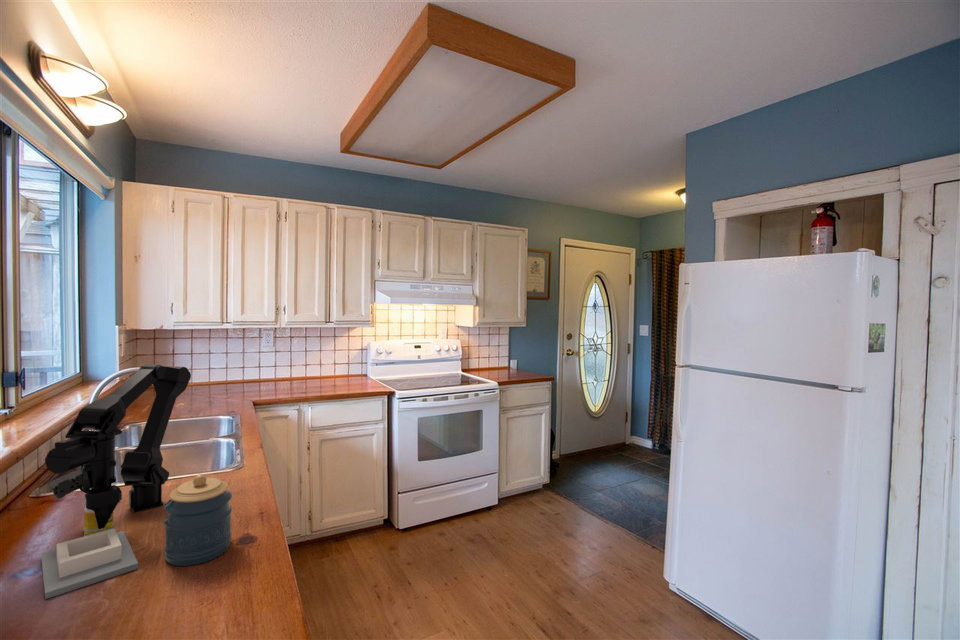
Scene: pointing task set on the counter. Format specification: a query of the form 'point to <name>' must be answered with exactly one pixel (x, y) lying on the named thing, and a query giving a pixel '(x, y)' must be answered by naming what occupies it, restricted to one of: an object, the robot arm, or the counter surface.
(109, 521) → the supplement bottle
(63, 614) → the counter surface
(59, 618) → the counter surface
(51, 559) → the socket board
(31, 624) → the counter surface
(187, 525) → the canister
